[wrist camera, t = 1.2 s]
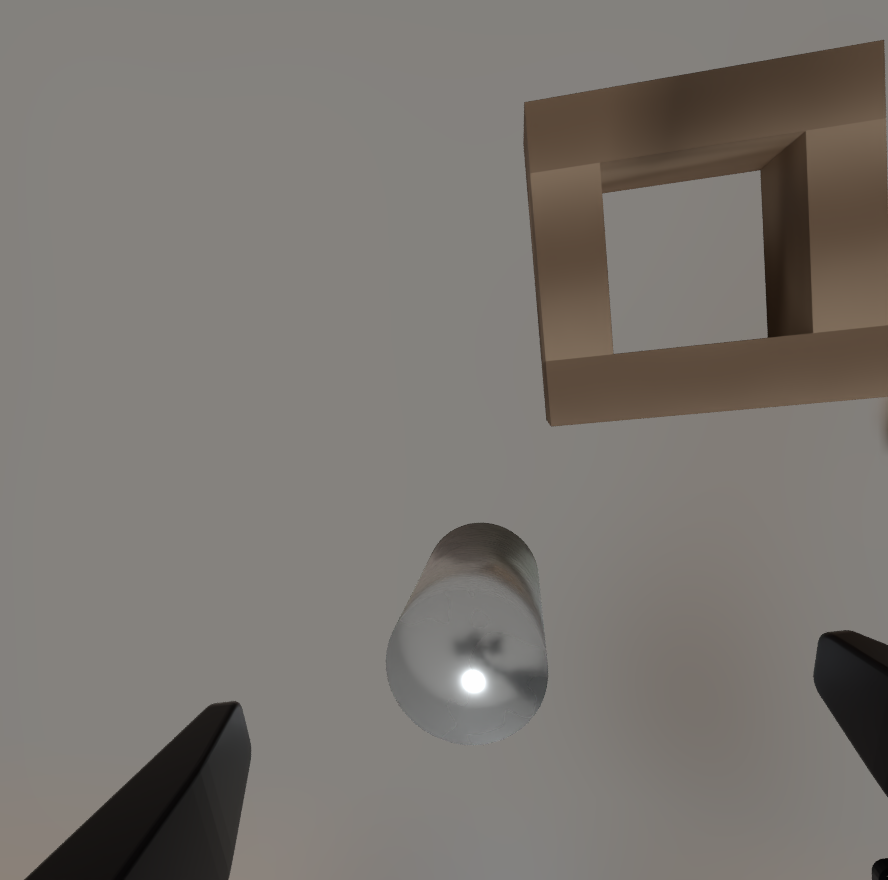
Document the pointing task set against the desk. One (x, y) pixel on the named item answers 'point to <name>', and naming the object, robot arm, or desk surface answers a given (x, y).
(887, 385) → the frame
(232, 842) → the robot arm
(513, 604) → the metal cylinder
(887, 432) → the desk surface
